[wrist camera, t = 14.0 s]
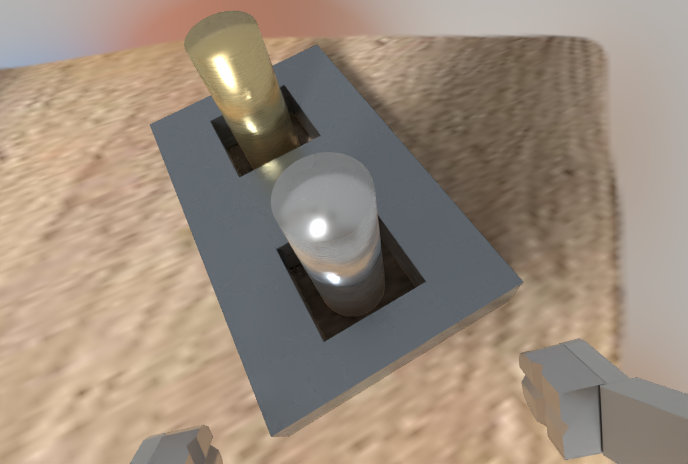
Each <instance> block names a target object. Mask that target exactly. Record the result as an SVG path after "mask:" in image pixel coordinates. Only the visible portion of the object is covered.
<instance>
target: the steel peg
mask: <svg viewBox="0 0 688 464" xmlns="http://www.w3.org/2000/svg"><path fill="white" fill-rule="evenodd" d="M271 209H272V213H273V215H274V218H275V220H276V221H277V223H278V225H279V226H280V228H281V230H282V231H283V233H284V235H285V236H286V238H287V240H288V242H289V243H290V245H291V247H292V248H293V250H294V252H295V253H296V255H297V257H298V258H299V260H300V262H301V263H302V265H303V267H304V269H305V270H306V272H307V274H308V275H309V277H310V279H311V280H312V282H313V284H314V285H315V287H316V289H317V290H318V292H319V294H320V296H321V297H322V299H323V301H324V302H325V304H326V305H327V306H328V307H329V308H330V309H331V310H332V311H334V312H335V313H337V314H339V315H342V316H347V317H357V316H361V315H364V314H366V313H368V312H370V311H371V310H373V309H374V308H375V307H376V306H377V305H378V304H379V302H380V301H381V299H382V297H383V295H384V291H385V276H384V267H383V258H382V249H381V240H380V231H379V222H378V214H377V205H376V196H375V187H374V182H373V179H372V176H371V174H370V173H369V171H368V169H367V168H366V167H365V166H364V165H363V164H362V163H361V162H359V161H358V160H356V159H355V158H353V157H351V156H348V155H345V154H342V153H336V152H322V153H316V154H311V155H309V156H306V157H303V158H301V159H299V160H297V161H296V162H294V163H293V164H291V165H290V166H289V167H288V168H287V169H285V170H284V171H283V173H282V174H281V175H280V176H279V178H278V179H277V181H276V183H275V185H274V187H273V190H272V194H271Z"/></svg>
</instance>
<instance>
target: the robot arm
mask: <svg viewBox="0 0 688 464" xmlns="http://www.w3.org/2000/svg"><path fill="white" fill-rule="evenodd" d="M519 365H520V368H521V369H522V371H523V372H524V373H525V377H524V379H523V380H522V388H523V394H524V397H525V400H526V402H527V405H528V407H529V409H530V411H531V413H532V414H533V416H534V417H535V419H536V420H537V422H539V423H541V424H543V425H545V426H547V434H548V437H549V439H550V440H551V442H552V443H553V444H554V446H555V447H556V449H557V450H558V451H559V453H560V454H561V456H562V457H563V458H564V460H568V459H574V458H579V457H584V456H590V455H595V454H600V453H603V455H604V456H606V457H608V458H609V459H611V460H612V461H614V462H616V463H617V464H688V394H686V393H683V392H680V391H677V390H674V389H671V388H667V387H665V386H662V385H659V384H655V383H652V382H649V381H646V380H643V379H640V378H637V377H636V378H632V379H630V378H629V377H628V376H626V375H625V374H624V373H623V372H622V371H620V370H619V369H618V368H617V367H616V366H614V365H613V364H612V363H611V362H610V361H608V360H607V359H606V358H605V357H604V356H602V355H601V354H600V353H599V352H598V351H596V350H595V349H594V348H593V347H592V346H590V345H589V344H588V343H587V342H586V341H584V340H582V339H579V338H578V339H575V340H571V341H567V342H563V343H559V344H557V345H553V346H549V347H544V348H540V349H536V350H532V351H527V352H523V353H520V355H519ZM212 439H213V435H212V433H211V431H210V429H209V427H208V426H205V425H201V426H196V427H191V428H186V429H181V430H176V431H171V432H167V433H163V434H158V435H153V436H149V437H148V438H146V439H145V440H143V442H142V444H141V445H140V447H139V449H138V451H137V452H136V454H135V456H134V457H133V459H132V461H131V462H130V464H223V461H222V457H221V454H220V452H219V450H218V449H216V448H215V447H213V446H211V445H210V444H211V441H212Z"/></svg>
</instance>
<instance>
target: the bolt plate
mask: <svg viewBox="0 0 688 464" xmlns="http://www.w3.org/2000/svg"><path fill="white" fill-rule="evenodd" d="M184 46H185V49H186V51H187V53H188V55H189V57H190V59H191V60H192V62H193V64H194V66H195V67H196V69H197V71H198V73H199V74H200V76H201V78H202V80H203V82H204V83H205V85H206V87H207V89H208V90H209V92H210V94H211V96H209V97H206V98H204V99H202V100H200V101H198V102H196V103H194V104H192V105H190V106H188V107H186V108H184V109H181V110H179V111H177V112H175V113H173V114H171V115H169V116H167V117H165V118H163V119H161V120H158V121H156V122H154V123H152V124H150V126H151V129H152V132H153V134H154V137H155V139H156V142H157V144H158V147H159V150H160V152H161V155H162V157H163V160H164V163H165V165H166V168H167V170H168V173H169V175H170V178H171V181H172V183H173V186H174V188H175V191H176V193H177V196H178V199H179V201H180V204H181V206H182V209H183V211H184V214H185V217H186V219H187V222H188V224H189V227H190V229H191V232H192V235H193V237H194V240H195V242H196V245H197V247H198V250H199V253H200V255H201V258H202V260H203V263H204V265H205V268H206V271H207V273H208V276H209V278H210V281H211V283H212V286H213V289H214V291H215V294H216V296H217V299H218V301H219V304H220V307H221V309H222V312H223V314H224V317H225V319H226V322H227V325H228V327H229V330H230V332H231V335H232V337H233V340H234V343H235V345H236V348H237V350H238V353H239V355H240V358H241V361H242V363H243V366H244V368H245V371H246V373H247V376H248V379H249V381H250V384H251V386H252V389H253V391H254V394H255V397H256V399H257V402H258V404H259V407H260V410H261V412H262V415H263V417H264V420H265V422H266V425H267V428H268V430H269V433H270V435H271V437H286V436H290V435H292V434H293V433H295V432H297V431H298V430H300V429H301V428H303V427H305V426H306V425H308V424H310V423H311V422H313V421H314V420H316V419H318V418H319V417H321V416H323V415H324V414H326V413H327V412H329V411H331V410H332V409H334V408H335V407H337V406H339V405H340V404H342V403H344V402H345V401H347V400H348V399H350V398H352V397H353V396H355V395H357V394H358V393H360V392H361V391H363V390H365V389H366V388H368V387H370V386H371V385H373V384H374V383H376V382H378V381H379V380H381V379H382V378H384V377H386V376H387V375H389V374H391V373H392V372H394V371H395V370H397V369H399V368H400V367H402V366H404V365H405V364H407V363H408V362H410V361H412V360H413V359H415V358H417V357H418V356H420V355H421V354H423V353H425V352H426V351H428V350H429V349H431V348H433V347H434V346H436V345H438V344H439V343H441V342H442V341H444V340H446V339H447V338H449V337H451V336H452V335H454V334H455V333H457V332H459V331H460V330H462V329H464V328H465V327H467V326H468V325H470V324H472V323H473V322H475V321H476V320H478V319H480V318H481V317H483V316H485V315H486V314H488V313H489V312H491V311H493V310H494V309H496V308H498V307H499V306H501V305H502V304H504V303H506V302H507V301H509V299H510V298H511V297H512V296H513V294H514V293H515V292H516V291H517V290H518V288H519V287H520V286H521V285H522V283H523V281H522V280H521V279H520V278H519V277H518V275H517V274H516V273H515V272H514V271H513V270H512V269H511V267H510V266H509V265H508V264H507V263H506V262H505V261H504V259H503V258H502V257H501V256H500V255H499V254H498V252H497V251H496V250H495V249H494V248H493V247H492V246H491V244H490V243H489V242H488V241H487V240H486V239H485V237H484V236H483V235H482V234H481V233H480V232H479V231H478V229H477V228H476V227H475V226H474V225H473V224H472V223H471V221H470V220H469V219H468V218H467V217H466V216H465V214H464V213H463V212H462V211H461V210H460V209H459V208H458V206H457V205H456V204H455V203H454V202H453V201H452V199H451V198H450V197H449V196H448V195H447V194H446V193H445V191H444V190H443V189H442V188H441V187H440V186H439V184H438V183H437V182H436V181H435V180H434V179H433V178H432V176H431V175H430V174H429V173H428V172H427V171H426V170H425V168H424V167H423V166H422V165H421V164H420V163H419V161H418V160H417V159H416V158H415V157H414V156H413V155H412V153H411V152H410V151H409V150H408V149H407V148H406V146H405V145H404V144H403V143H402V142H401V141H400V140H399V138H398V137H397V136H396V135H395V134H394V133H393V132H392V130H391V129H390V128H389V127H388V126H387V125H386V123H385V122H384V121H383V120H382V119H381V118H380V117H379V115H378V114H377V113H376V112H375V111H374V110H373V108H372V107H371V106H370V105H369V104H368V103H367V102H366V100H365V99H364V98H363V97H362V96H361V95H360V94H359V92H358V91H357V90H356V89H355V88H354V87H353V85H352V84H351V83H350V82H349V81H348V80H347V79H346V77H345V76H344V75H343V74H342V73H341V72H340V70H339V69H338V68H337V67H336V66H335V65H334V64H333V62H332V61H331V60H330V59H329V58H328V57H327V56H326V54H325V53H324V52H323V51H322V50H321V49H320V47H319V46H318V45H315V46H313V47H311V48H309V49H307V50H305V51H303V52H300V53H298V54H296V55H294V56H292V57H290V58H288V59H286V60H284V61H282V62H280V63H278V64H275V65H273V66H272V64H271V61H270V58H269V56H268V53H267V50H266V47H265V44H264V41H263V39H262V36H261V33H260V30H259V27H258V24H257V22H256V20H255V19H254V18H253V17H252V16H251V15H250V14H248V13H245V12H241V11H226V12H220V13H217V14H214V15H211V16H209V17H207V18H205V19H203V20H201V21H200V22H199V23H197V24H196V25H195V26H194V27H193V28H192V29H191V30H190V31H189V32H188V34H187V36H186V38H185V42H184ZM293 115H295V116H296V118H297V119H298V120H299V122H300V123H301V125H302V126H303V128H304V129H305V131H306V132H307V133H308V135H309V136H310V138H311V139H312V141H310V142H308V143H306V144H304V145H302V146H300V143H299V141H298V138H297V135H296V132H295V129H294V126H293V124H292V121H291V118H290V117H291V116H293ZM237 143H238V144H239V145H240V147H241V149H242V151H243V152H244V154H245V156H246V158H247V160H248V161H249V163H250V165H251V167H252V168H253V171H251V172H249V173H247V174H245V175H244V176H241V175H240V173H239V171H238V169H237V167H236V165H235V163H234V161H233V159H232V157H231V155H230V153H229V151H228V150H227V148H229V147H231V146H233V145H235V144H237ZM322 152H336V153H342V154H345V155H348V156H351V157H353V158H355V159H356V160H358V161H359V162H361V163H362V164H363V165H364V166H365V167H366V168H367V169H368V171H369V173H370V174H371V176H372V179H373V182H374V187H375V196H376V205H377V214H378V222H379V231H380V238H381V240H382V241H383V243H384V244H385V246H386V247H387V248H388V250H389V251H390V253H391V254H392V256H393V257H394V258H395V260H396V261H397V263H398V264H399V266H400V267H401V269H402V270H403V271H404V273H405V274H406V276H407V277H408V279H409V280H410V281H411V283H412V284H413V286H414V287H415V289H413V290H411V291H410V292H408V293H406V294H404V295H403V296H401V297H399V298H398V299H396V300H394V301H393V302H391V303H389V304H388V305H386V306H384V307H382V308H381V309H379V310H377V311H376V312H374V313H372V314H371V315H369V316H367V317H365V318H364V319H362V320H360V321H359V322H357V323H355V324H354V325H352V326H350V327H349V328H347V329H345V330H343V331H342V332H340V333H338V334H337V335H335V336H333V337H332V338H330V339H328V340H326V338H325V336H324V334H323V332H322V330H321V328H320V327H319V325H318V323H317V321H316V319H315V317H314V315H313V313H312V311H311V309H310V307H309V305H308V303H307V302H306V300H305V298H304V296H303V294H302V292H301V290H300V288H299V286H298V284H297V282H296V280H295V278H294V277H293V275H292V273H291V271H290V269H291V268H293V267H295V266H296V265H298V264H300V263H301V262H300V260H299V258H298V257H297V255H296V253H295V252H294V250H293V248H292V247H291V245H290V243H289V242H288V240H287V238H286V236H285V235H284V233H283V231H282V230H281V228H280V226H279V225H278V223H277V221H276V220H275V218H274V215H273V213H272V209H271V194H272V190H273V187H274V185H275V183H276V181H277V179H278V178H279V176H280V175H281V174H282V173H283V171H284V170H285V169H287V168H288V167H289V166H290V165H291V164H293V163H294V162H296V161H297V160H299V159H301V158H303V157H306V156H309V155H311V154H316V153H322Z"/></svg>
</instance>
